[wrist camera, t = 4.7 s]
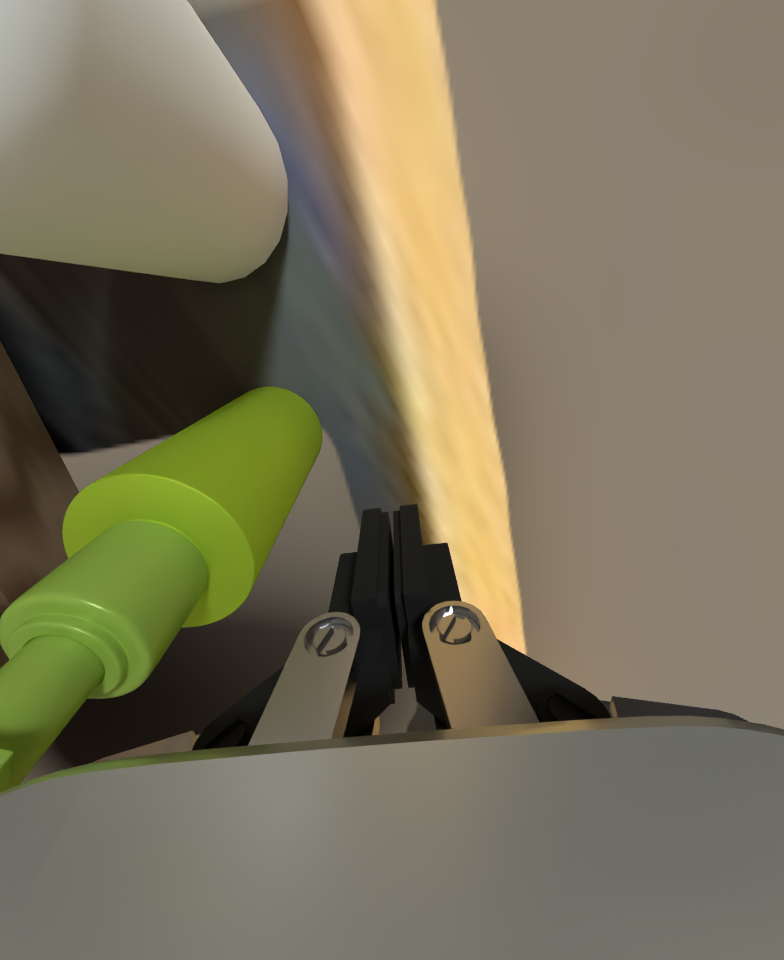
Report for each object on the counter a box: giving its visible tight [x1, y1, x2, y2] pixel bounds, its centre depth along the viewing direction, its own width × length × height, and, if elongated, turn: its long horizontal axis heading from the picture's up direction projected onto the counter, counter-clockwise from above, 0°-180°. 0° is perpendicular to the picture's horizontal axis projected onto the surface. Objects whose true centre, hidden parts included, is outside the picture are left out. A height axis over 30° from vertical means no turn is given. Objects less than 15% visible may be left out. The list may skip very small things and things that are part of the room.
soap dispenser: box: [0, 387, 322, 793], centre depth 15 cm, size 6×7×20 cm
